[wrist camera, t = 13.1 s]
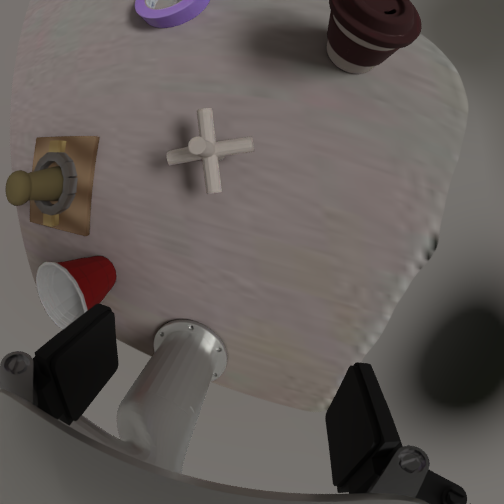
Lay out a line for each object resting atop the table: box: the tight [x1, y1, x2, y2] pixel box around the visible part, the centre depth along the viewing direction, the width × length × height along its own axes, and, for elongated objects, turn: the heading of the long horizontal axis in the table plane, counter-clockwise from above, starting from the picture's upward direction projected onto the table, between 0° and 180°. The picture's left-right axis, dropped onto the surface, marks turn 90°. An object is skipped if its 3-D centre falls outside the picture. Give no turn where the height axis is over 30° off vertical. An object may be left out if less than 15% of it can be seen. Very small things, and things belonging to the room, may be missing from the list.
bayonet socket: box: [30, 136, 100, 236], centre depth 36 cm, size 16×16×3 cm
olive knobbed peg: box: [6, 166, 64, 206], centre depth 32 cm, size 6×6×11 cm
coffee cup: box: [327, 0, 421, 74], centre depth 22 cm, size 10×10×15 cm
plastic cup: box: [36, 256, 116, 330], centre depth 35 cm, size 11×11×12 cm
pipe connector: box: [167, 108, 254, 194], centre depth 30 cm, size 10×10×10 cm
